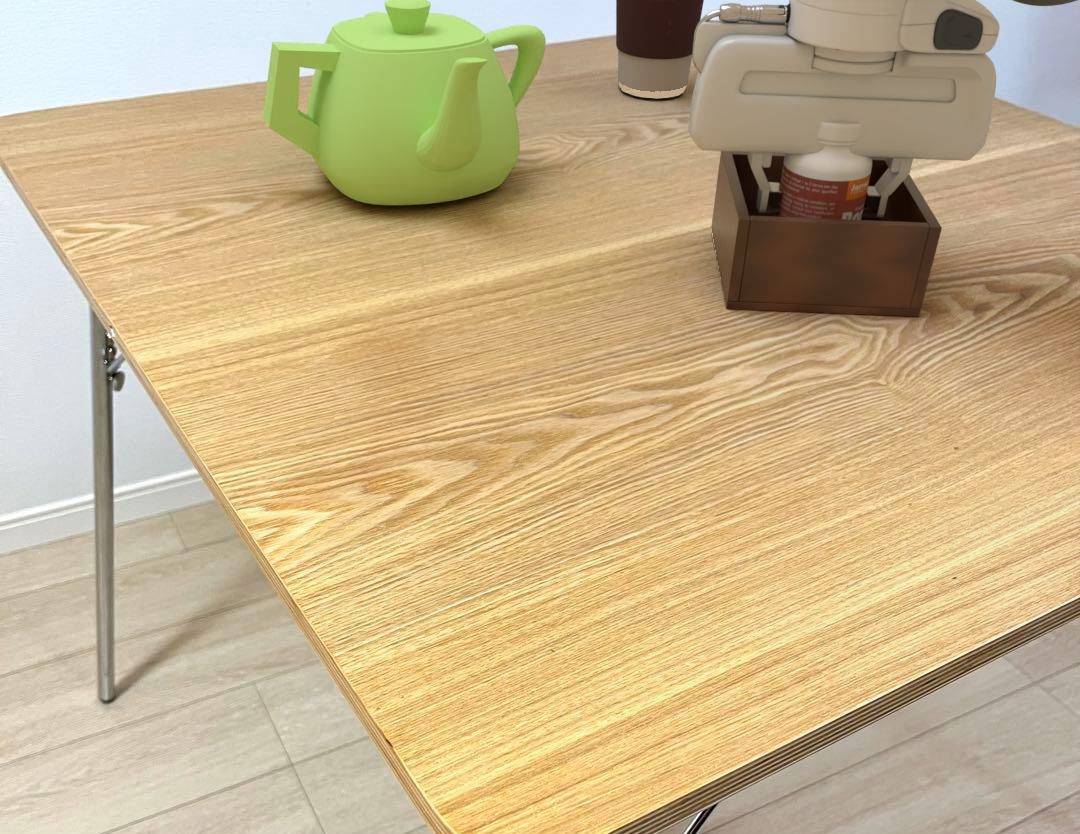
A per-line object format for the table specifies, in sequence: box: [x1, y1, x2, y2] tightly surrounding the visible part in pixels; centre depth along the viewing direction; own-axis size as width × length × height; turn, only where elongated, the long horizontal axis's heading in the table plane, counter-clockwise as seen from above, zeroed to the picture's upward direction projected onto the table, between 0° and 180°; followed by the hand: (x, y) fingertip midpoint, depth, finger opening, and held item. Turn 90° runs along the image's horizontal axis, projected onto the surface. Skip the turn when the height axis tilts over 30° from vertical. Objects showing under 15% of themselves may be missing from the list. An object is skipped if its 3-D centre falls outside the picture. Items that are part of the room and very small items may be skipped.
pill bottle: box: [775, 122, 872, 220], centre depth 82 cm, size 6×6×11 cm
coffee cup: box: [615, 0, 705, 92], centre depth 116 cm, size 10×10×15 cm
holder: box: [710, 151, 943, 318], centre depth 84 cm, size 14×14×7 cm
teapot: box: [262, 0, 547, 206], centre depth 93 cm, size 19×20×14 cm
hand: (819, 212), depth 83 cm, fingers closed on pill bottle, 6 cm apart
